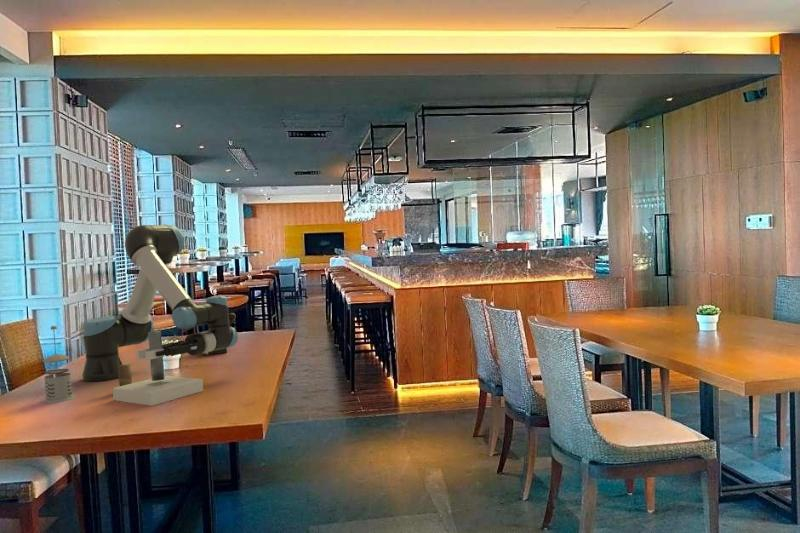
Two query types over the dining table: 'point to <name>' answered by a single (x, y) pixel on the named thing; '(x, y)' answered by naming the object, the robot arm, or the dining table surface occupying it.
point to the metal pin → (156, 363)
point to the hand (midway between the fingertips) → (141, 355)
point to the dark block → (231, 318)
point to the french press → (57, 379)
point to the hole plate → (157, 390)
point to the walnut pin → (124, 374)
